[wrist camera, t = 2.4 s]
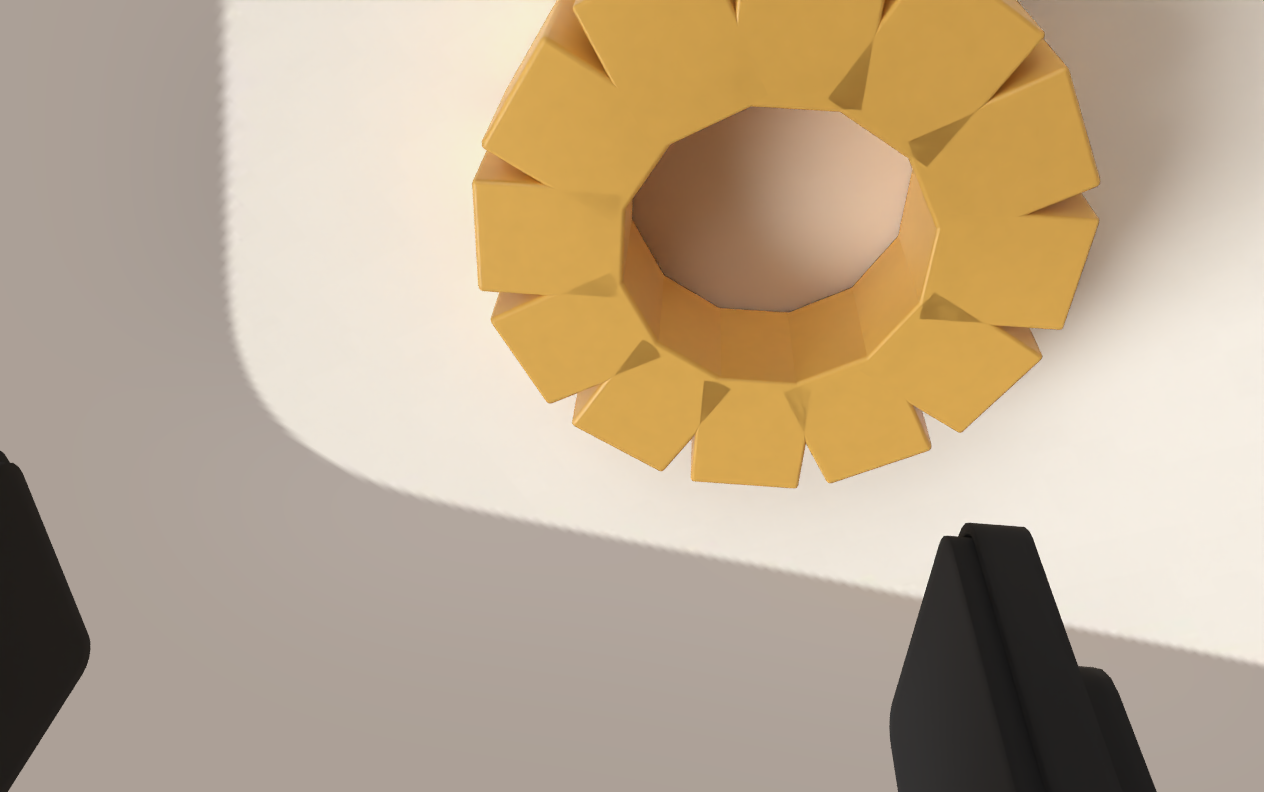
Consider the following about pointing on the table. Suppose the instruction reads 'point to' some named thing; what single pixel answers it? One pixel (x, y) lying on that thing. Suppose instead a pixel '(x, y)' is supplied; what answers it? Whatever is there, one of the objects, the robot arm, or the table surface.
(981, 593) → the robot arm
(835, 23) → the yellow segmented ring
